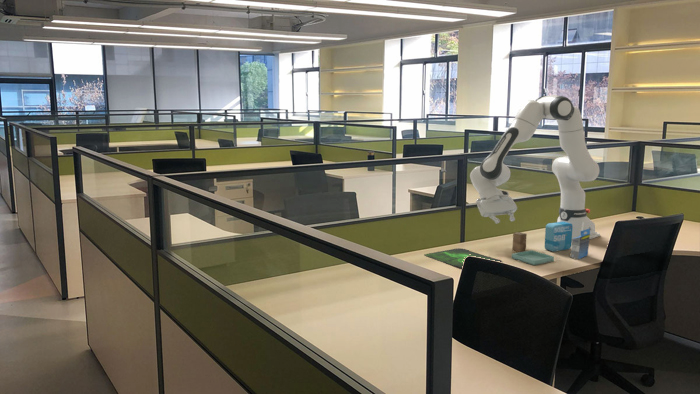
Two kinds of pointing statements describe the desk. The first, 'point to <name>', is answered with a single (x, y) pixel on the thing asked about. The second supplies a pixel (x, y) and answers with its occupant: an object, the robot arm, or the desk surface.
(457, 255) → the mouse mat
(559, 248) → the blue soap box
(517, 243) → the walnut block
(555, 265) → the desk surface
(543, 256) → the teal tray
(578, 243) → the label tape box
